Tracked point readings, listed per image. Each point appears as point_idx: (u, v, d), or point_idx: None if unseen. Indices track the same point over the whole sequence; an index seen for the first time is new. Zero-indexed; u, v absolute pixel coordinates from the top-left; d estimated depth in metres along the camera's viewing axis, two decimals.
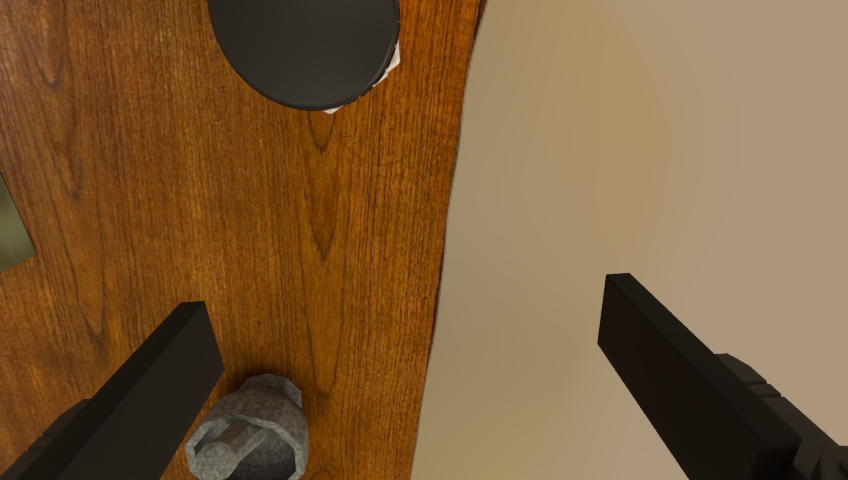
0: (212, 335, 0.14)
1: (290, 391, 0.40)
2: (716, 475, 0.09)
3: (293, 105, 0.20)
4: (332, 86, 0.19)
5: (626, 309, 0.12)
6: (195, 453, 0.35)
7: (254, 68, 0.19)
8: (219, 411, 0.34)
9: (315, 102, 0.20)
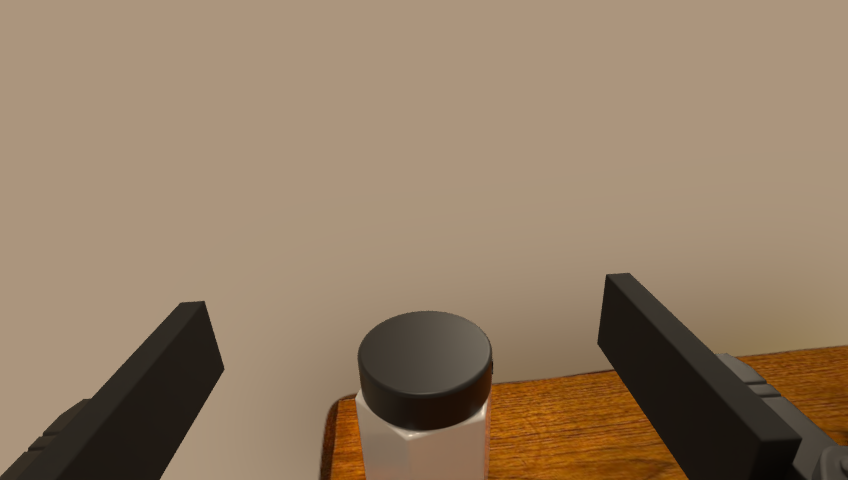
0: (212, 335, 0.14)
1: None
2: (716, 475, 0.09)
3: (488, 344, 0.26)
4: (466, 329, 0.27)
5: (627, 309, 0.12)
6: None
7: (471, 365, 0.24)
8: None
9: (480, 334, 0.26)
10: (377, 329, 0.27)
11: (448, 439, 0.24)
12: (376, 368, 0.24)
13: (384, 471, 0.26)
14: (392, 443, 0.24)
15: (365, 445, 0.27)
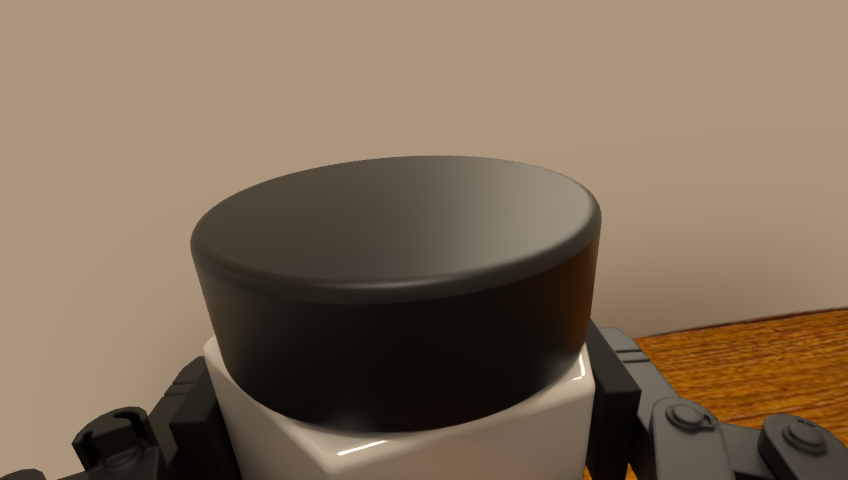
0: None
1: None
2: None
3: (579, 184, 0.09)
4: (507, 169, 0.11)
5: None
6: None
7: (548, 216, 0.07)
8: None
9: (549, 174, 0.10)
10: (280, 179, 0.11)
11: (479, 461, 0.07)
12: (237, 234, 0.07)
13: None
14: (294, 478, 0.07)
15: None
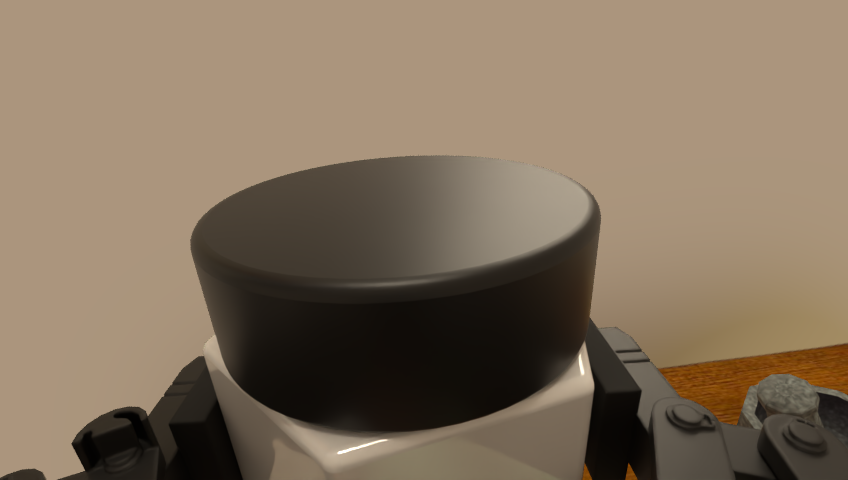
0: None
1: None
2: None
3: (579, 184, 0.09)
4: (507, 169, 0.11)
5: None
6: None
7: (547, 216, 0.07)
8: None
9: (549, 173, 0.10)
10: (281, 179, 0.11)
11: (478, 461, 0.07)
12: (237, 233, 0.07)
13: None
14: (295, 477, 0.07)
15: (247, 479, 0.10)
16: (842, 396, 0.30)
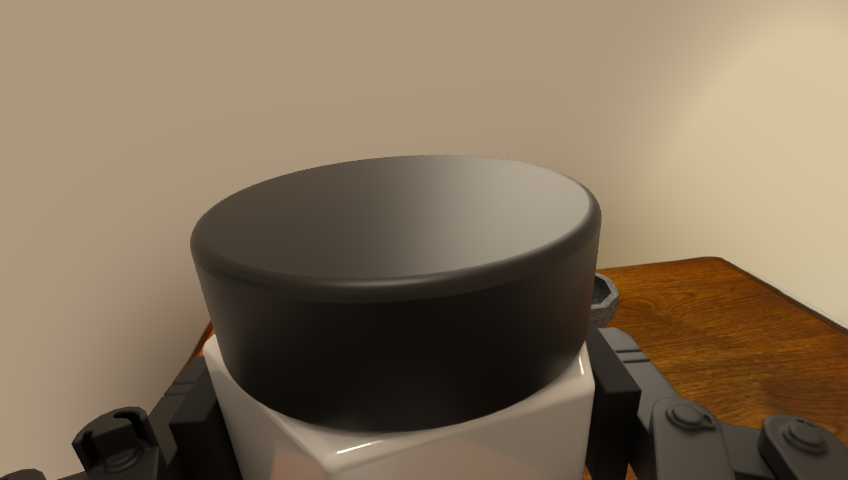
0: None
1: None
2: None
3: (579, 183, 0.09)
4: (507, 168, 0.11)
5: None
6: None
7: (548, 215, 0.07)
8: None
9: (549, 173, 0.10)
10: (280, 178, 0.11)
11: (478, 461, 0.07)
12: (237, 233, 0.07)
13: None
14: (294, 477, 0.07)
15: (247, 478, 0.10)
16: None
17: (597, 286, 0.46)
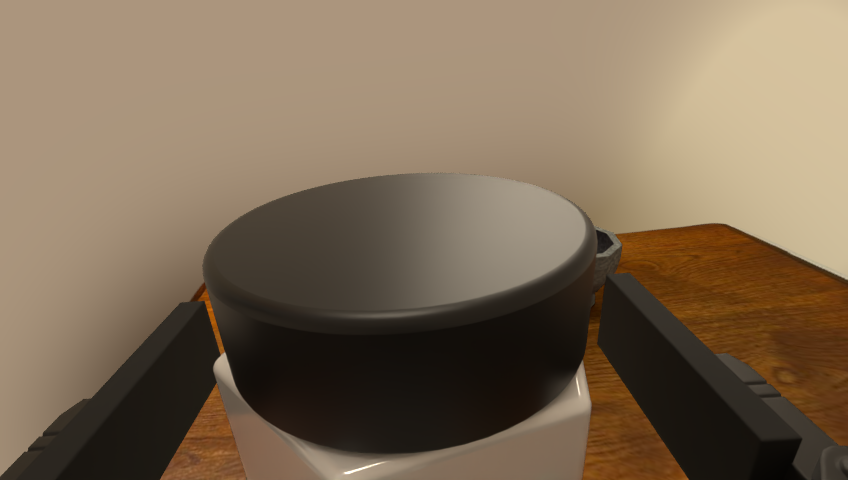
0: (212, 335, 0.14)
1: None
2: (716, 475, 0.09)
3: (577, 207, 0.09)
4: (507, 189, 0.11)
5: (626, 309, 0.12)
6: None
7: (545, 242, 0.08)
8: None
9: (548, 194, 0.10)
10: (286, 199, 0.11)
11: (479, 479, 0.07)
12: (247, 260, 0.08)
13: None
14: None
15: None
16: None
17: (599, 241, 0.44)
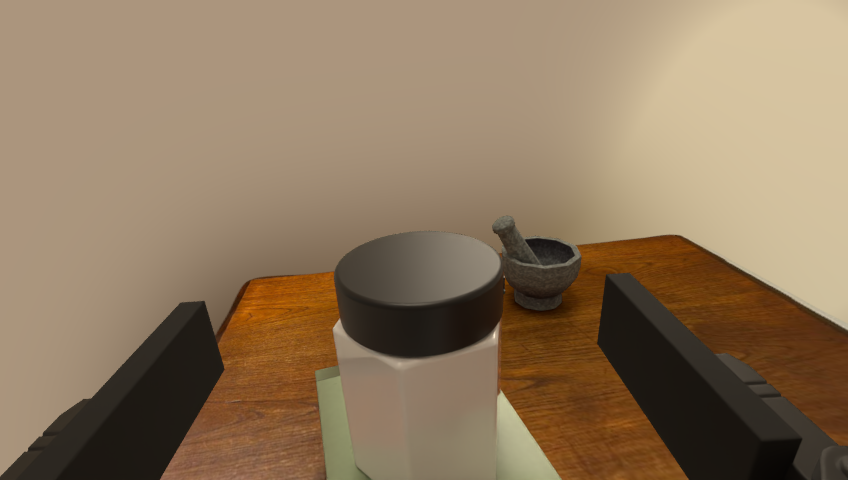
0: (212, 335, 0.14)
1: None
2: (716, 475, 0.09)
3: (498, 256, 0.20)
4: (469, 244, 0.22)
5: (626, 309, 0.12)
6: (550, 265, 0.50)
7: (478, 275, 0.19)
8: (513, 268, 0.52)
9: (488, 248, 0.21)
10: (359, 248, 0.22)
11: (451, 370, 0.18)
12: (357, 283, 0.19)
13: (371, 420, 0.21)
14: (380, 378, 0.19)
15: (347, 391, 0.21)
16: (558, 240, 0.56)
17: (565, 252, 0.55)
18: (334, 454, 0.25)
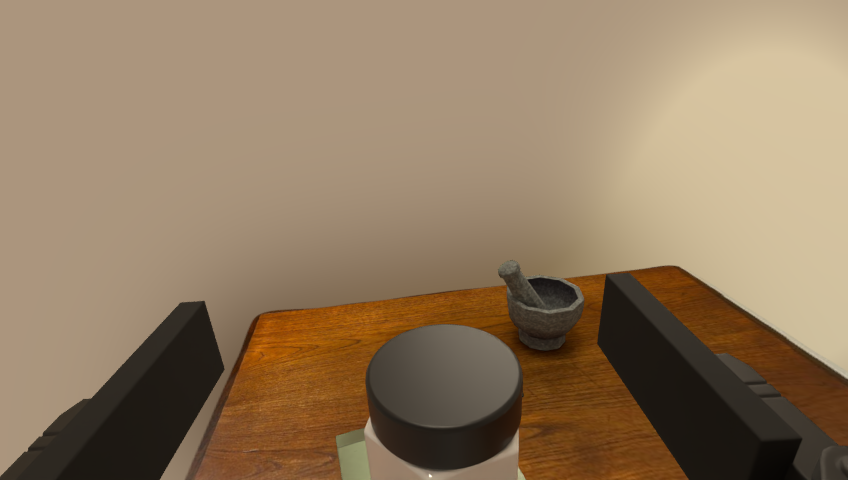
0: (212, 335, 0.14)
1: None
2: (716, 475, 0.09)
3: (517, 362, 0.22)
4: (488, 344, 0.24)
5: (626, 309, 0.12)
6: (554, 310, 0.52)
7: (501, 389, 0.20)
8: (518, 311, 0.53)
9: (506, 351, 0.23)
10: (386, 348, 0.24)
11: (476, 478, 0.20)
12: (389, 396, 0.20)
13: None
14: None
15: None
16: (561, 280, 0.58)
17: (568, 293, 0.57)
18: None
